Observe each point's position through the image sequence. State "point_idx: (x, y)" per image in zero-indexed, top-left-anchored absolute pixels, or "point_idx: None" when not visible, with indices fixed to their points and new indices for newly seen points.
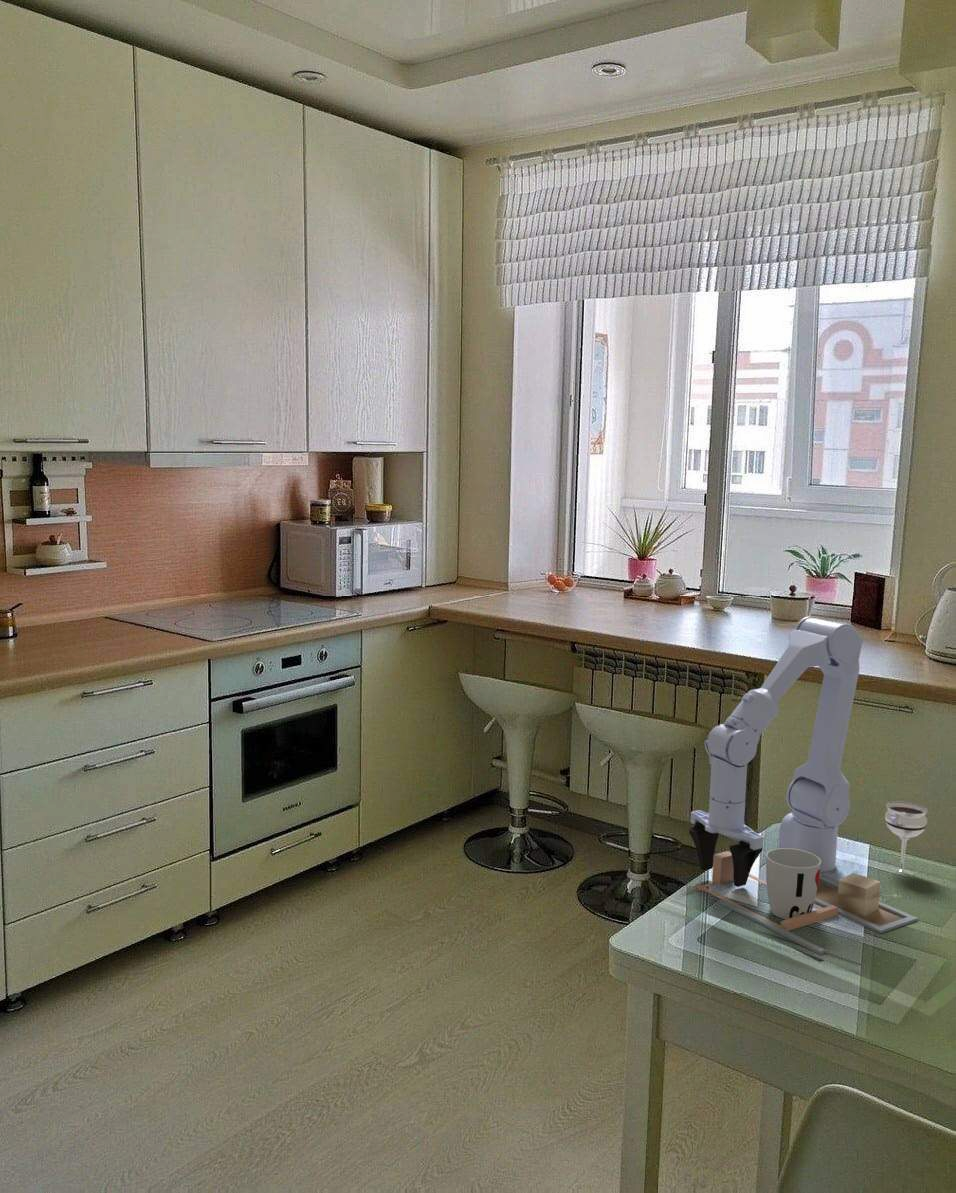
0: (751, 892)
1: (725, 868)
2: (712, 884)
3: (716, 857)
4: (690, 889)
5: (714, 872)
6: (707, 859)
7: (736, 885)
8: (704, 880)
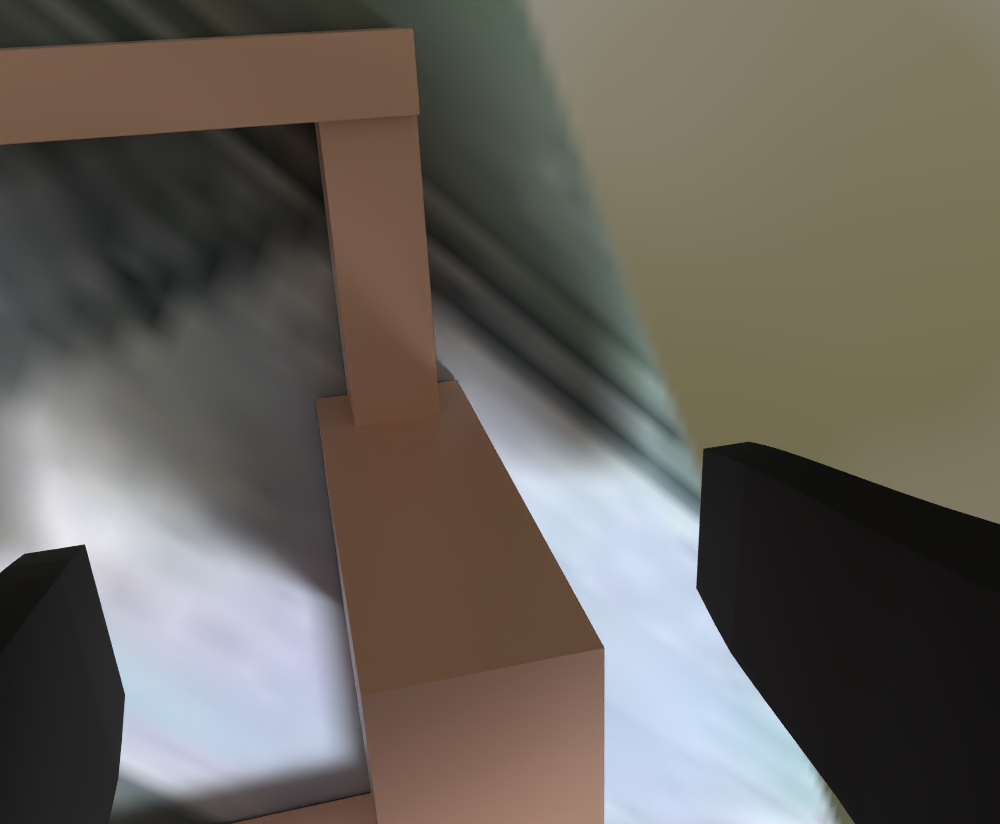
0: (130, 708)
1: (351, 646)
2: (377, 344)
3: (501, 642)
4: (522, 55)
5: (465, 477)
6: (780, 589)
7: (20, 557)
8: (646, 414)
